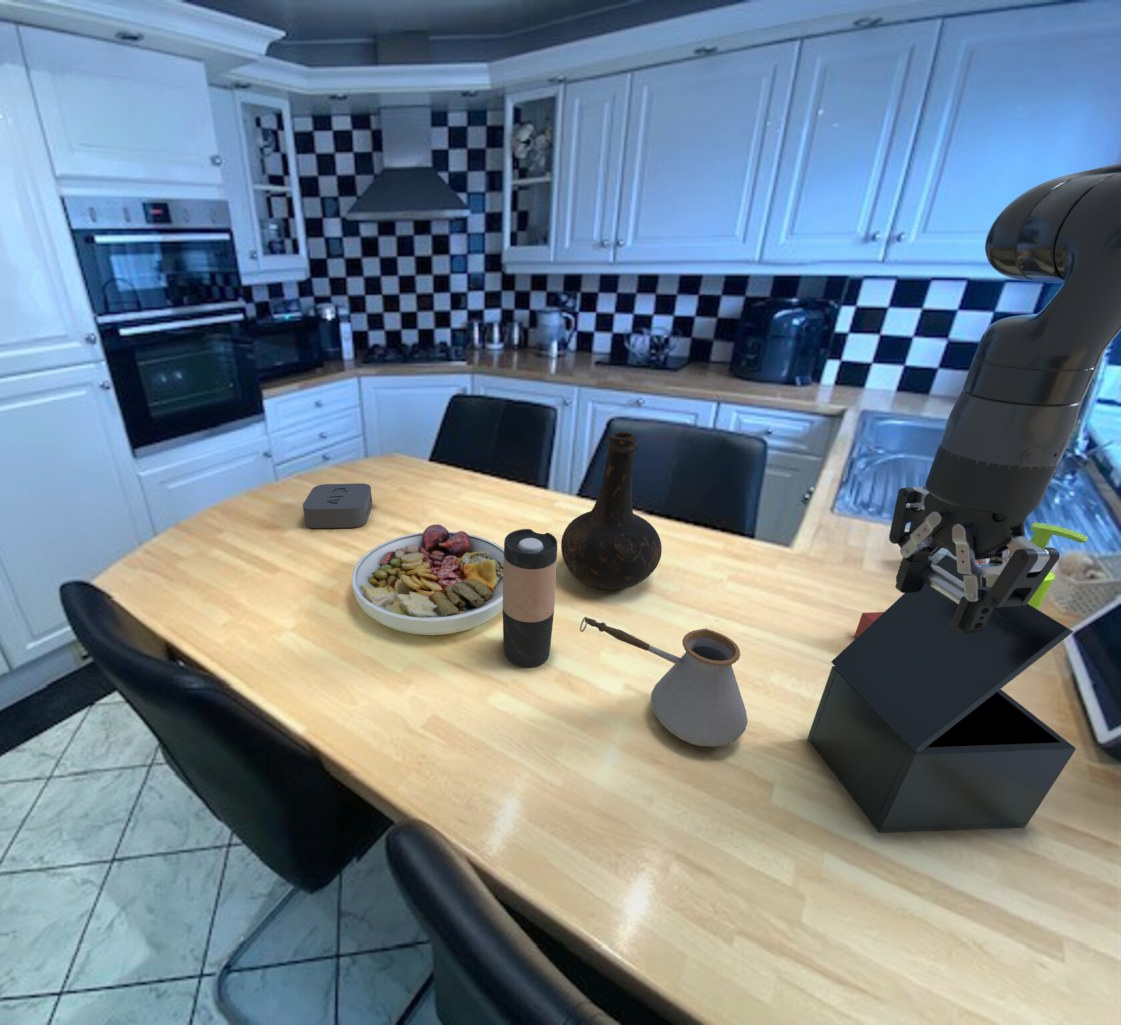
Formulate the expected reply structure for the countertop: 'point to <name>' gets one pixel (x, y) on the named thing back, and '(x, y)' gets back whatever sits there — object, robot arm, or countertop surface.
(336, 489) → the streaming box
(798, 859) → the countertop surface
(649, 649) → the coffee pot
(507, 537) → the travel mug
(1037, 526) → the soap dispenser
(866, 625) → the block
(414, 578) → the bowl
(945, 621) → the bin lid
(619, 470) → the glass bottle
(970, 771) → the trashcan
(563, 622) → the countertop surface
